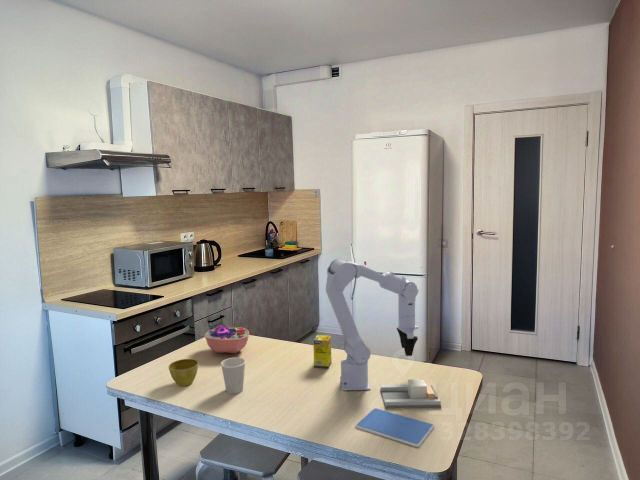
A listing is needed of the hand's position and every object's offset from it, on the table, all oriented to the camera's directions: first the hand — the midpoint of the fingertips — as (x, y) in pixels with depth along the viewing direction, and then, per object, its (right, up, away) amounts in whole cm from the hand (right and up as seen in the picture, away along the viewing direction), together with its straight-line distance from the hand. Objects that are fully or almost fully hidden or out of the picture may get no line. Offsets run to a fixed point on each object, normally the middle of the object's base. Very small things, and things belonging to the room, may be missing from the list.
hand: (406, 351), depth 158 cm
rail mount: (-2, -11, -15) cm, 19 cm away
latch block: (+4, -11, -15) cm, 19 cm away
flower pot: (-79, -12, +1) cm, 80 cm away
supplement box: (-30, -9, +14) cm, 34 cm away
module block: (0, -11, -15) cm, 18 cm away
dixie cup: (-60, -12, -6) cm, 61 cm away
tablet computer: (-10, -14, -31) cm, 36 cm away
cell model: (-69, -8, +30) cm, 76 cm away
